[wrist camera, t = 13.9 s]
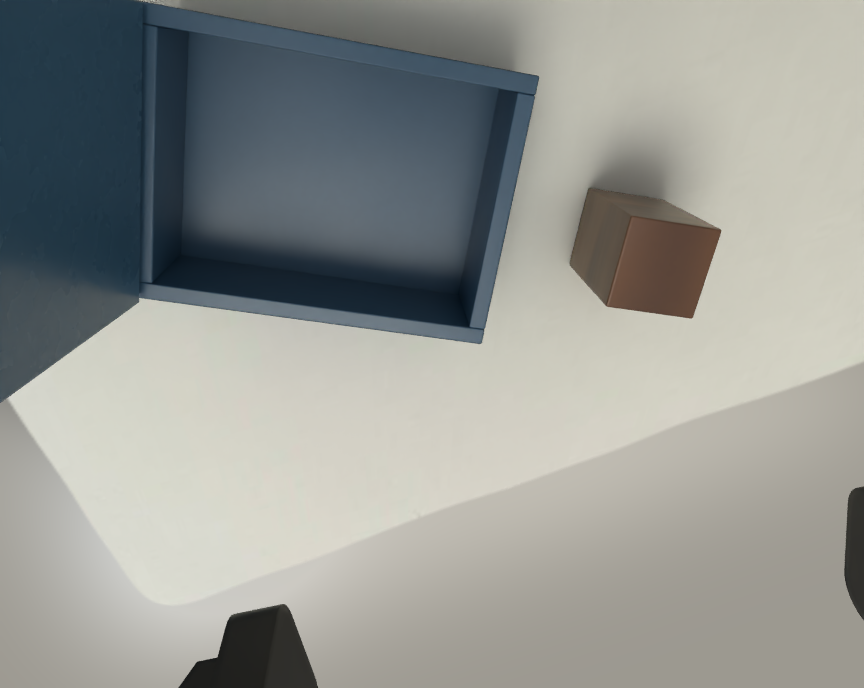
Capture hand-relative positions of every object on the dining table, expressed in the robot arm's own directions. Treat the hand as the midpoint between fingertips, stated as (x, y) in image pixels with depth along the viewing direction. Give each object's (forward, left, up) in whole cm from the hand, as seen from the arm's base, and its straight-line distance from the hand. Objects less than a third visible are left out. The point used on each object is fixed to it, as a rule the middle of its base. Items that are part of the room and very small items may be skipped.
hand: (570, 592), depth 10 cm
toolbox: (+3, -4, -30) cm, 30 cm away
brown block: (-6, +8, -30) cm, 31 cm away
